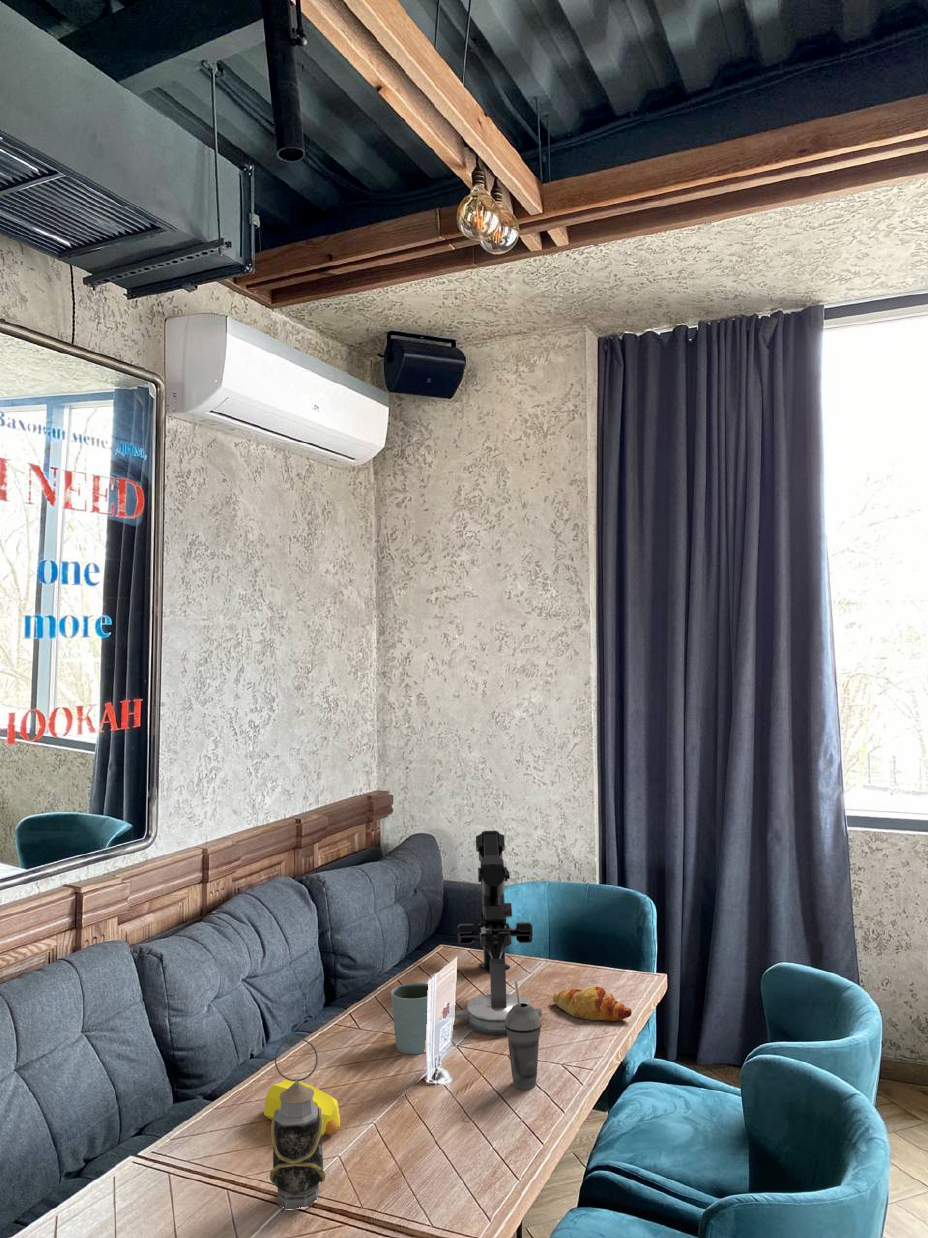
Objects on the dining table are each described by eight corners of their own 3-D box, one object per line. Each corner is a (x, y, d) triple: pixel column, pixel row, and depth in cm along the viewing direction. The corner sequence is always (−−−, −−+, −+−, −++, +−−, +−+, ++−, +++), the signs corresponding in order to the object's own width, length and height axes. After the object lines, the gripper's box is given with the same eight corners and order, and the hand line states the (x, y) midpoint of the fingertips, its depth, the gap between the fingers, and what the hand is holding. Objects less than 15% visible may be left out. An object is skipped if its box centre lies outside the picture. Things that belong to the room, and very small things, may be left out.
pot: (457, 1012, 220) (456, 1000, 220) (539, 1010, 220) (538, 998, 220) (456, 1037, 206) (456, 1023, 206) (544, 1034, 206) (543, 1021, 206)
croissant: (547, 1023, 222) (538, 998, 219) (565, 991, 229) (556, 967, 227) (627, 1041, 209) (618, 1014, 207) (643, 1007, 217) (634, 981, 214)
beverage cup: (540, 1094, 178) (537, 989, 179) (503, 1091, 180) (500, 987, 181) (545, 1077, 185) (542, 976, 186) (509, 1075, 187) (506, 974, 188)
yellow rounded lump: (286, 1102, 178) (253, 1118, 172) (285, 1067, 178) (253, 1082, 172) (351, 1130, 167) (319, 1149, 161) (350, 1093, 167) (318, 1109, 161)
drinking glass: (417, 1060, 195) (416, 1002, 196) (382, 1048, 201) (380, 992, 202) (447, 1043, 203) (445, 987, 204) (412, 1033, 209) (411, 979, 210)
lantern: (329, 1183, 150) (326, 1027, 151) (323, 1213, 142) (320, 1047, 143) (275, 1186, 149) (272, 1029, 150) (266, 1216, 141) (263, 1050, 142)
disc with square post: (467, 997, 221) (466, 952, 221) (528, 996, 221) (526, 950, 221) (467, 1021, 206) (466, 972, 207) (532, 1020, 206) (531, 971, 207)
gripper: (456, 892, 231) (457, 951, 220) (531, 890, 231) (535, 949, 220) (457, 914, 239) (458, 972, 228) (529, 912, 239) (534, 970, 228)
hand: (496, 965), depth 226 cm, fingers closed
